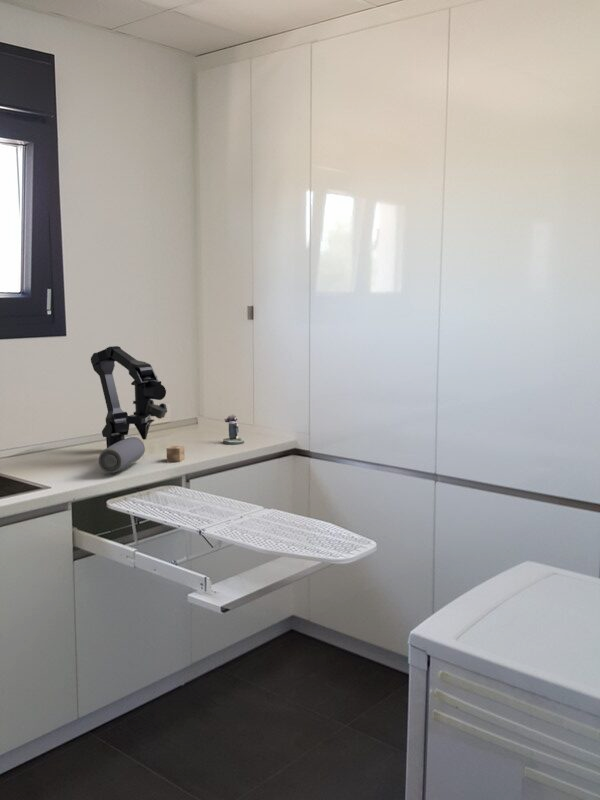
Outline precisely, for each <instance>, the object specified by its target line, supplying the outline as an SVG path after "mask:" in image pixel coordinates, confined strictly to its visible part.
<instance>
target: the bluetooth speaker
mask: <svg viewBox="0 0 600 800" xmlns="http://www.w3.org/2000/svg"><path fill="white" fill-rule="evenodd" d="M145 446H146V445H145V444H144V442H143V440H141V439H140V438H139V437H136V436H130V437H126V438H125V439H124V440H121V441H119V442H117V443H115V444H113V445H111V446H110V447H108V448H107V447H106V448H105V449H103V451H102V452H101V453H100V454H99V456H98V465H99V467H100V469H101V470H102V471H104V472H105V473H108V474H112V473H113V474H114V473H117V472H120V473H124V472H126V471H127V470H129V469H130V468H132V465H133V464H134V463H136V462H137V461H139V460H140V459H141V458H142V457H143V456H144V454H145V451H146V447H145ZM128 468H129V469H128ZM125 470H126V471H125ZM123 471H124V472H123Z"/></svg>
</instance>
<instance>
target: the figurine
mask: <svg viewBox="0 0 600 800" xmlns="http://www.w3.org/2000/svg"><path fill="white" fill-rule="evenodd" d="M237 421H238V418H237V417H236V415H235V414H230V415H228V416H227V417H224V422H225V423H228V437H226V438H223V440H222V442H223V443H222V444H223V445H226V446H227V445H228V446H239V445H243V444H245V439H244V438H241V437H238V433H239V431H240V429H239V426H240V425H239V423H238V422H237Z"/></svg>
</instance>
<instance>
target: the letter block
mask: <svg viewBox="0 0 600 800" xmlns="http://www.w3.org/2000/svg"><path fill="white" fill-rule="evenodd" d="M165 449H166V463H167V462H168V463H181V462H183V461H185V460H186V459H185V455H186V454H185V446H184V445H183V446H182V445H171V446H169V447H166V448H165Z"/></svg>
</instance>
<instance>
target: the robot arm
mask: <svg viewBox="0 0 600 800" xmlns="http://www.w3.org/2000/svg"><path fill="white" fill-rule="evenodd" d="M115 362H117V363H118V365H121V366H122V367H124V369H126V370H127V371H128V375H129V376H130V377H131V378H132V379H133V381H132V382H131V383H130V385H131V386H134V400H133V402H132V404H133V405H134V406H135V410H134V411H133V414H130V415H129V414H128V412H127V411H124V410H122V408H121V405H120V403H121V402H120V400H119V396H118V392H117V387H116V383H115V382H116V381H115V379H114V378H115V377H114V375H113V373H114V372H113V371H114V369H115V366H116V365H115ZM90 363H91V365H92V369H93V371H94V372H95V373H96V374H97V375H98V376H99V379H100V383H101V388H102V391H103V397H104V401H105V405H106V408H107V409H106V410H107V413H106V417H105V426H104V427H103V429H102V430H101V435H102V437H103V438H105V441H106V448H108V447H110V446H111V445H113V444H115V443H117V442H119V441H121V440H124V439H126V438H125V436H128V434H129V431H130V430H129V429H130V425H131V424H132V425H134V427H135V428H136V430H137V432H138V433H139V435H140V437H141V438H142V441H143V440H147V437H148V433H149V429H150V426H151V424H153V422H155V419H152V417H155V418H157V419H162V418H165V415H166V413H167V412H168V407H167V404H166V403H163V402H162V403H160V404H155V403H154V400H156V401H161V400H163V399H165V398H166V394H167V389H166V388H165V386H164V384H162V381H161V380H159V379H158V376H157V375H156V372H155V371H154V369H153V366H152V365H151V364H150V363H149V362H146V361H143V360H137V359H136V358H135V357H133V356H132V355H131V354H129V353H127V352H126V351H125V350H123V349H122V348H121V346H119V345H116V346H115V345H114V346H108V347H106V348H105V349H102V350H98V352H94V353H92V355H91V356H90Z"/></svg>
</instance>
